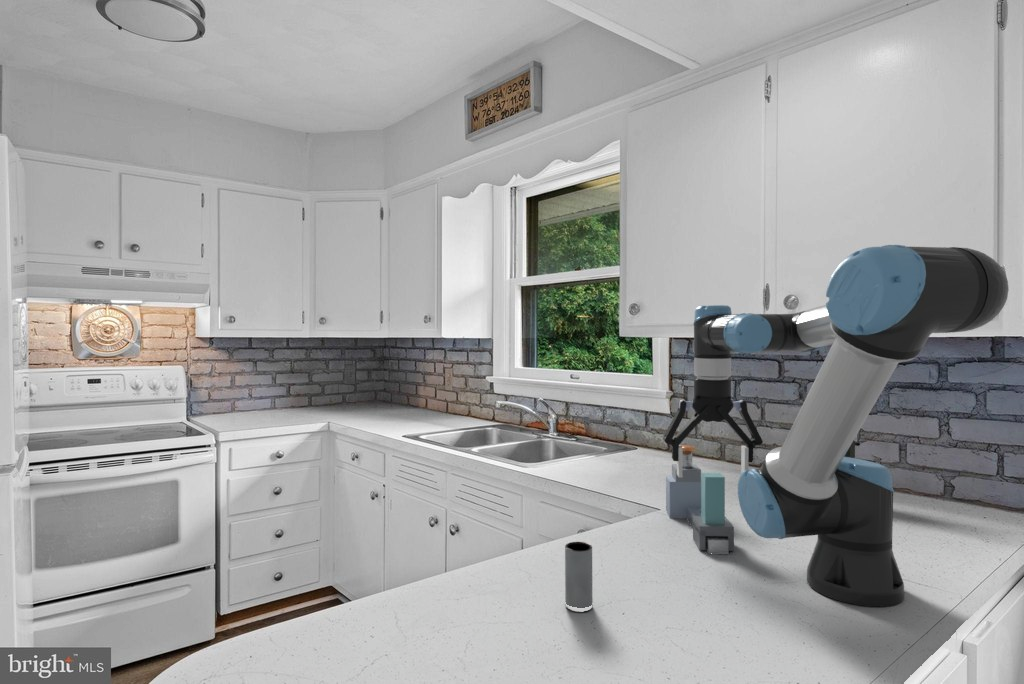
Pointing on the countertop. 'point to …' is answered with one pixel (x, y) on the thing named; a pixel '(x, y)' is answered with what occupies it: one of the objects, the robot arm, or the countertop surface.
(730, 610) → the countertop surface
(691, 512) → the rail
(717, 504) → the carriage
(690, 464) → the plunger
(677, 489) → the blue-grey stepped block
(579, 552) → the gray cylinder
